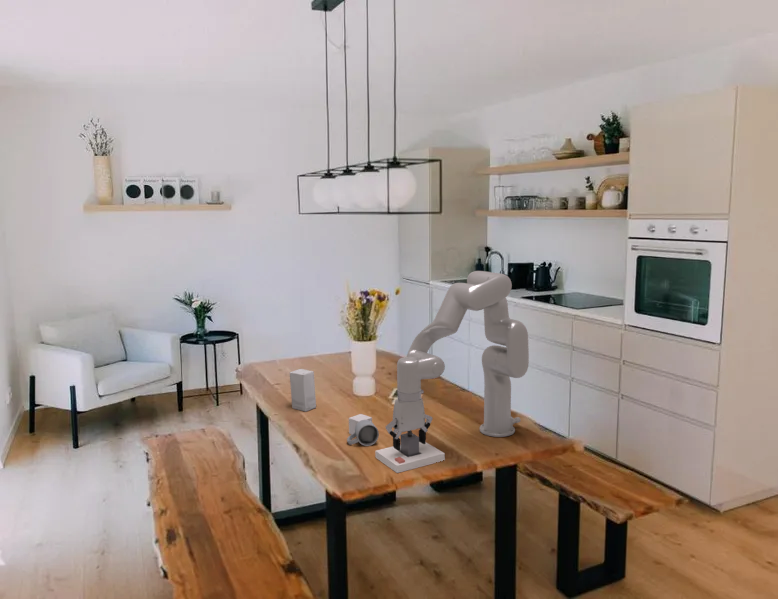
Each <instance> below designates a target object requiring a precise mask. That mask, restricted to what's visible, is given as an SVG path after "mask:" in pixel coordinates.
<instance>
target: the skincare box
mask: <svg viewBox="0 0 778 599" xmlns="http://www.w3.org/2000/svg"><path fill="white" fill-rule="evenodd" d="M289 382H290V396H291V407H292V409H294V410H297V411H298V410H299V411H302V412H308V411H311V410H314V409H316V408H317V399H316V385H315V371H313V370H308V369H304V368H299V369H296V370H293V371H290V372H289Z"/></svg>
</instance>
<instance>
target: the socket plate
mask: <svg viewBox="0 0 778 599" xmlns="http://www.w3.org/2000/svg"><path fill="white" fill-rule="evenodd" d="M374 454H375V459H377V461H379V462H381V463H382V464H384V465H385V466H386V467H388V468H389V469H391V470H392V471H393V472H395V473H396V474H400V473H402V472H406V471H411V470H414V469H417V468H421V467H426V466H429V465H432V464H436V462H437V463H439V462H440V461H441V462H444V461H445V460H446V458H445V455H446V454H445V452H443V451H441V450H440V449H438V448H436V447H435V446H434V445H431V444H430V443H428V442H426V444H422V443H421V442H419V455H415V456H411V457H407V456H405V455H404V454H402V453H401V444H400V450H399V451H398V450H396V449H395V448H394V447H393V446H388V447H386V448H381V449H376V450H375V451H374ZM443 460H444V461H443Z"/></svg>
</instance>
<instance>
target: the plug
mask: <svg viewBox="0 0 778 599" xmlns="http://www.w3.org/2000/svg"><path fill="white" fill-rule="evenodd" d="M400 445H401V453H402V454H404V455H405V456H407V457H411V456H415V455H419V435H416V434H415V433H413V430H411V431H407V432H404V433H401V435H400Z"/></svg>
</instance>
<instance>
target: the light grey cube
mask: <svg viewBox="0 0 778 599" xmlns="http://www.w3.org/2000/svg"><path fill="white" fill-rule="evenodd" d="M361 420H369V421H371V422H372V423H373V417H372V416H368V415H366V414H363V413H359V414H357V415H354V416H351V417H348V434H349V435H352V434H353V433H355V427H356V424H357V423H358V422H359V421H361Z"/></svg>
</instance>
